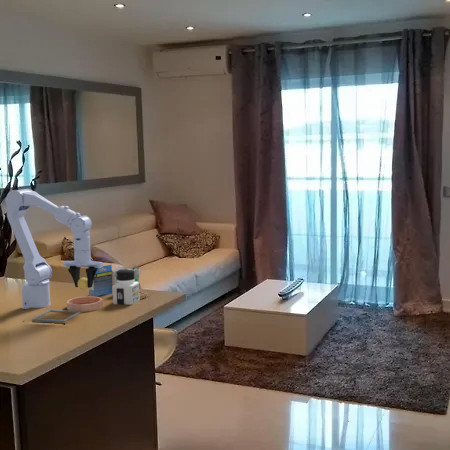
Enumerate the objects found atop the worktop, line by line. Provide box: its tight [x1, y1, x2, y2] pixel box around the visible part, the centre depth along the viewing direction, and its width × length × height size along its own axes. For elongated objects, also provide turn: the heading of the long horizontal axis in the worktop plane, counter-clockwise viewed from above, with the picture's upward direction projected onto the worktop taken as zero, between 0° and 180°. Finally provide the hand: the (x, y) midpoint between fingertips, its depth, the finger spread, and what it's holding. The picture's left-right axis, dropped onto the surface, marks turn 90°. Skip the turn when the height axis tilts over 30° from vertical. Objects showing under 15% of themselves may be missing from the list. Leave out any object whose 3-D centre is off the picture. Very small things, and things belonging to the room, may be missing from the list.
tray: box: [31, 309, 82, 325], centre depth 210 cm, size 12×12×1 cm
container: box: [112, 268, 141, 305], centre depth 228 cm, size 8×8×13 cm
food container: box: [114, 266, 142, 284], centre depth 243 cm, size 12×6×10 cm, turn 148°
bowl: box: [66, 295, 104, 313], centre depth 221 cm, size 13×13×3 cm
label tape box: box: [88, 264, 113, 297], centre depth 241 cm, size 9×4×12 cm, turn 136°
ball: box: [77, 277, 89, 291], centre depth 220 cm, size 4×4×4 cm
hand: (83, 286), depth 221 cm, fingers closed on ball, 4 cm apart
